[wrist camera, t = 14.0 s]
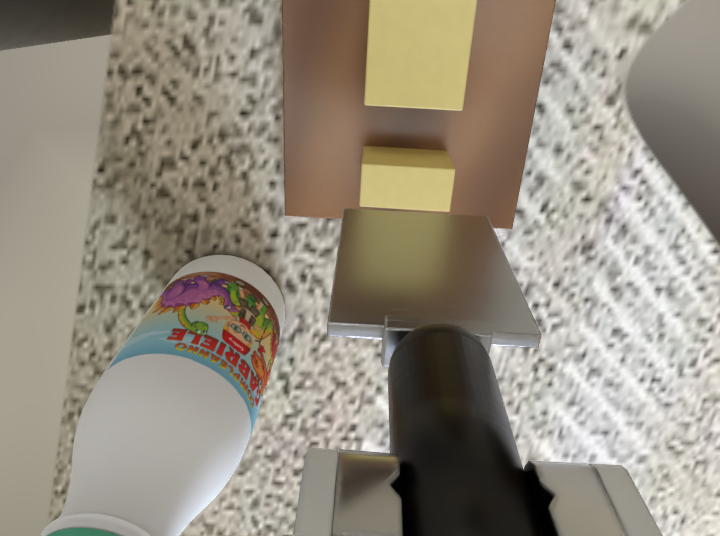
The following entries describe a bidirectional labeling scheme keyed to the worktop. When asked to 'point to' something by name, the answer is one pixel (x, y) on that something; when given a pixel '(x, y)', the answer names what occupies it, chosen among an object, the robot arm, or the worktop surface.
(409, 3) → the butter block
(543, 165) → the worktop surface
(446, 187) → the butter slice
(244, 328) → the milk bottle
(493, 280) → the knife
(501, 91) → the board
